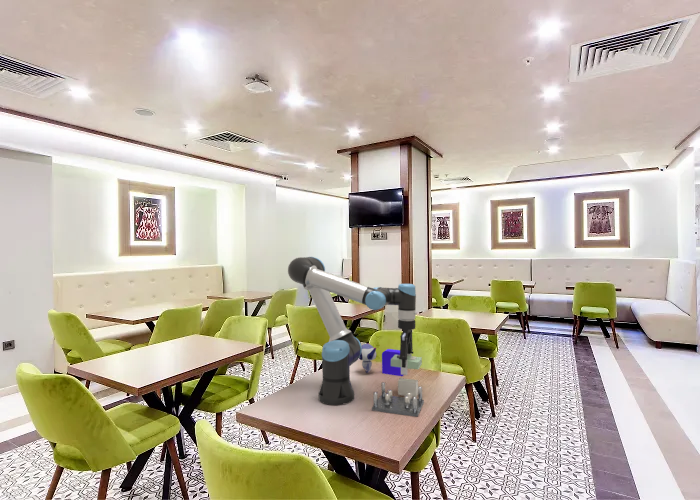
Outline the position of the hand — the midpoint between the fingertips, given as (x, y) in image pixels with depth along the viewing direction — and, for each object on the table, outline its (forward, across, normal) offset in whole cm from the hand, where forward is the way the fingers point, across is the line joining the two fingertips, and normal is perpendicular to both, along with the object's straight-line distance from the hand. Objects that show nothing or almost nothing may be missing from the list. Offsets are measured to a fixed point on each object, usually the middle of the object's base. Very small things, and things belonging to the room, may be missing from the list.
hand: (406, 371), depth 162 cm
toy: (+11, +22, +25) cm, 35 cm away
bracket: (+11, +32, +11) cm, 36 cm away
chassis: (+10, -14, 0) cm, 17 cm away
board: (-3, 0, 0) cm, 3 cm away
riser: (+10, 0, -1) cm, 10 cm away
